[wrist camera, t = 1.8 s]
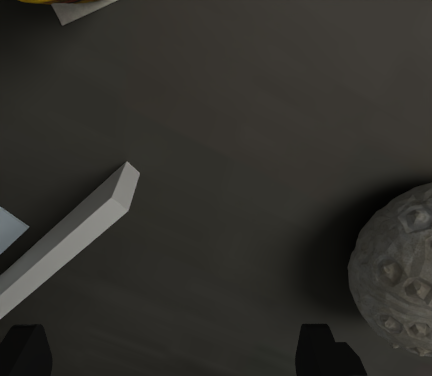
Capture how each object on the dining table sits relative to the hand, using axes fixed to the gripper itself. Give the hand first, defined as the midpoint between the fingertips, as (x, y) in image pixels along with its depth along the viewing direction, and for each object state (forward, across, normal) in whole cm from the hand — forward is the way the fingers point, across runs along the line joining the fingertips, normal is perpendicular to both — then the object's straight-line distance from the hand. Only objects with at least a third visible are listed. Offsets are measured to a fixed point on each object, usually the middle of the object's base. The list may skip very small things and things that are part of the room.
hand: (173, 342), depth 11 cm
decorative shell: (+21, -23, +10) cm, 33 cm away
